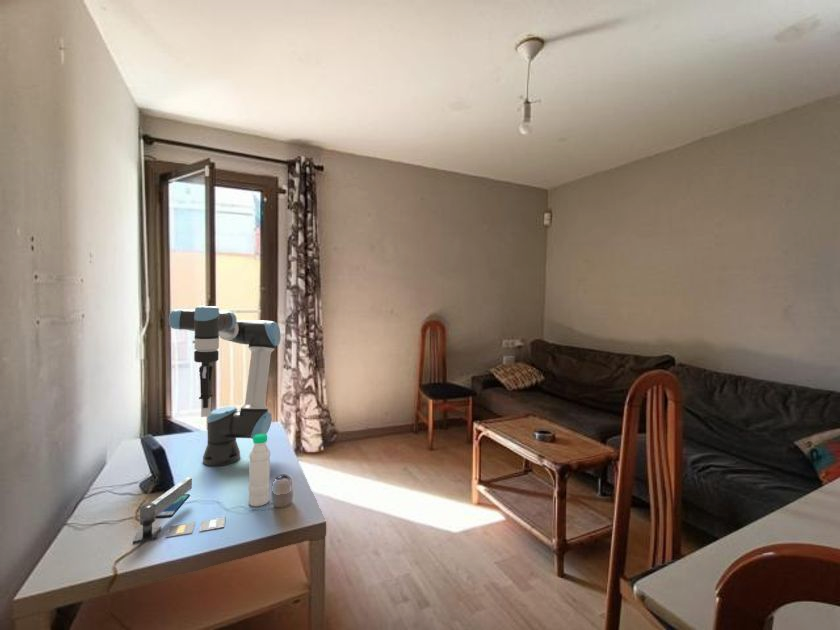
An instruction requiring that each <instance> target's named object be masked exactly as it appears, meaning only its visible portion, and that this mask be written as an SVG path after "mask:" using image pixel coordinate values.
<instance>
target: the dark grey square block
mask: <svg viewBox="0 0 840 630" xmlns="http://www.w3.org/2000/svg"><path fill="white" fill-rule="evenodd" d="M161 530H162V526H161V525H159V526H154V527H153V523H151V524H149V525H142V528H141V529H138V530H137V532H136V535H134V538H133V540H132V545H135V544H139V543H144V542H146V543H147V542H151V541H157V539H158V537H159V534H160V532H161Z"/></svg>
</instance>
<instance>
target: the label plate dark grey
mask: <svg viewBox="0 0 840 630" xmlns="http://www.w3.org/2000/svg"><path fill="white" fill-rule="evenodd" d="M200 523H201V524H200V528H199V530H198V531H199V532H198V533H201V532H208V531H214V530H218V529H224V528H225V525H226V524H225V523H226V516H224V517H223V516H221V517H217V518H211V519H206V520H205V519H204V520H201V522H200Z"/></svg>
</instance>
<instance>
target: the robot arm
mask: <svg viewBox="0 0 840 630" xmlns="http://www.w3.org/2000/svg"><path fill="white" fill-rule="evenodd" d="M168 324H169V327H171V329H173V330H180V331H182V330H184V331H185V330H186V331H189V332H190V331H191V332H194V337H193V338H194V340H192V344H194V350H195V351H194V353H193V361H194V362H195V363H201V365H200V367H198V368H199V370H198V371H199V379H200V380H199V381H200V382H199V385H200V396H199V397H198V399H199V400H200V403H201V408H200V410H201V412H200V417H201V418H205V417H206V418H207V444H206V448H205V449H204V450H205V451H204V454H203V455H202V462H203V463H202V464H204V465H206V466H210V467H219V466H220V467H221V466H225V465H230V464H232V463H235V462H237V461H238V460H239V459H241V450H240V448H239V444H238V442H237V439H251V440H253V437H254V436H255V435H257V434H266V435H267V434H268V432H269V430H270V428H271V424H272V422H273V421H272V420H273V419H272V418H273V417H272V413H271V412H269V408H268V406H267V405H266V401H267V400H266V399H267V390H268V380H269V372H270V363H271V355H272V352H273V351H275V350H276V349H275V348H276V346H279V344H280V342H281V340H282V339H281V329H280V325H279V324H278V323H277V322H276V321H272V320H267V319H266V320H256V319H255V320H254V319H253V320H250V319H241V320H240V319H239V320H238V318H237V316H236V315H235V313H234V312H233V311H230V310H220V309H219V307H218V306H215V305H213V306H212V305H209V306H208V305H207V306H206V305H202V306H201V305H199V306H198V305H197V306H196V307H195V309H183V308H182V309H181V308H180V309H173V310H171V312H170V313H169V316H168ZM220 339H222V340H223V341H229V342H232V343H235V344H240V345H248V349H249V351H250V360H249V369H248V374H247V375H248V376H247V385H246V392H245V393H246V394H245V400H244V404H243V405H242V406H241V407H240V411H238V408H237V407H236V406H225V407H220V408H216V409H214V410H212V411H211V404H212V403H211V399H212V397H214V394H212V378H213V370H214V365H212V363H215V362H217V361H219V356H220V355H219V350H218V349H219V348H220Z"/></svg>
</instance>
